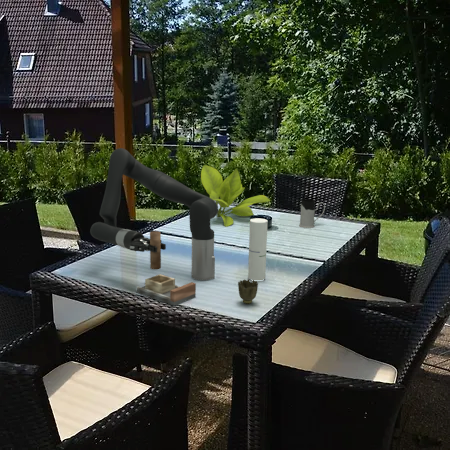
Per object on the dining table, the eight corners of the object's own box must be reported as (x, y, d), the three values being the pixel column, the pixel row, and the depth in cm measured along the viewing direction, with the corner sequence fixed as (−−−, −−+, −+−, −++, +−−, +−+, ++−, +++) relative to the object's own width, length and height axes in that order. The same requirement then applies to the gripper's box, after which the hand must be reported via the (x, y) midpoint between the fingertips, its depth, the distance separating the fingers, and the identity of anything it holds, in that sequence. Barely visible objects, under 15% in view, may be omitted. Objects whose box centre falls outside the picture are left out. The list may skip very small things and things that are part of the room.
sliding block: (145, 289, 216) (145, 279, 215) (160, 283, 222) (160, 274, 221) (160, 294, 211) (160, 284, 210) (175, 288, 217) (175, 278, 216)
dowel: (160, 265, 218) (160, 231, 215) (161, 269, 214) (161, 233, 211) (150, 266, 217) (149, 231, 214) (150, 269, 214) (150, 234, 210)
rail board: (136, 292, 217) (136, 279, 215) (158, 284, 225) (157, 271, 224) (174, 306, 205) (174, 291, 203) (195, 297, 213) (195, 283, 212)
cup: (234, 304, 207) (235, 284, 205) (241, 298, 214) (241, 278, 212) (253, 308, 204) (254, 287, 202) (260, 301, 211) (260, 281, 209)
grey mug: (297, 224, 324) (298, 198, 320) (321, 224, 326) (323, 198, 322) (301, 228, 316) (302, 202, 312) (325, 228, 317) (327, 202, 314)
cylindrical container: (247, 275, 238) (249, 218, 232) (264, 276, 238) (267, 218, 232) (248, 281, 231) (250, 222, 225) (265, 281, 231) (268, 222, 225)
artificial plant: (199, 238, 315) (223, 200, 297) (177, 185, 340) (198, 147, 323) (259, 242, 338) (285, 207, 320) (235, 192, 364) (257, 157, 346)
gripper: (115, 234, 216) (146, 242, 206) (143, 227, 227) (173, 235, 217) (116, 252, 218) (147, 262, 208) (143, 245, 229) (174, 253, 218)
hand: (160, 248), depth 212 cm, fingers closed on dowel, 4 cm apart
